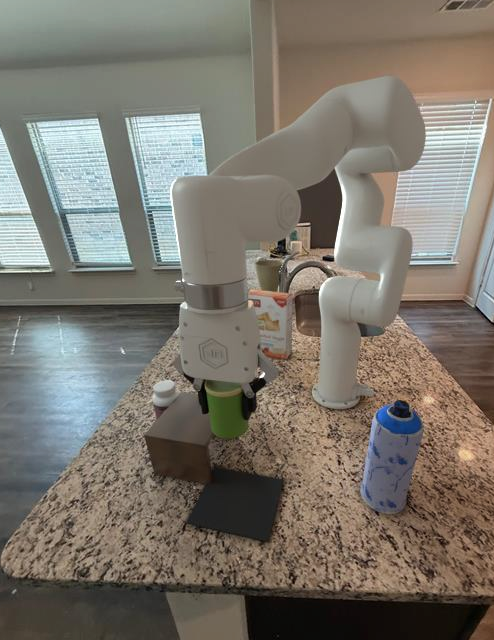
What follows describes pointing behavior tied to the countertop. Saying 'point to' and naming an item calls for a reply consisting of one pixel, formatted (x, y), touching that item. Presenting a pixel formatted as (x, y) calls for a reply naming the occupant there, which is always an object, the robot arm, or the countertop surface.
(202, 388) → the robot arm
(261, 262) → the plant pot
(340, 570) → the countertop surface
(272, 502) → the mat
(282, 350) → the cracker box
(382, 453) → the aerosol can
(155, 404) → the pill bottle
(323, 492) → the countertop surface
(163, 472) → the brown bridge stand
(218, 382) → the green cylinder can
